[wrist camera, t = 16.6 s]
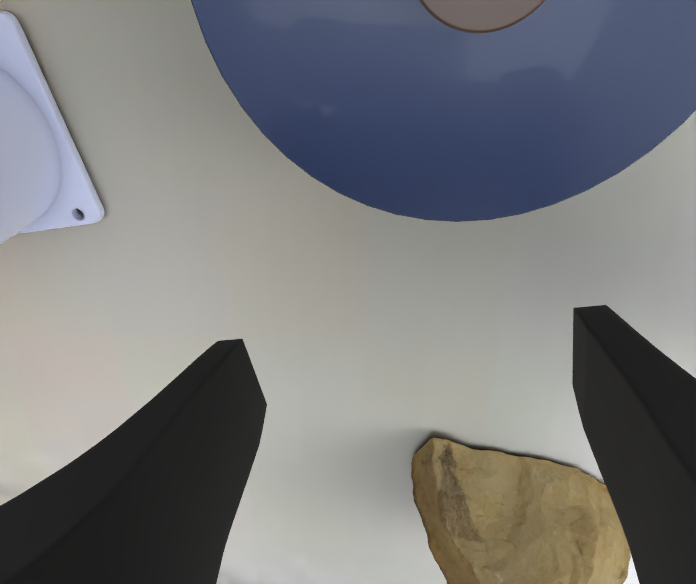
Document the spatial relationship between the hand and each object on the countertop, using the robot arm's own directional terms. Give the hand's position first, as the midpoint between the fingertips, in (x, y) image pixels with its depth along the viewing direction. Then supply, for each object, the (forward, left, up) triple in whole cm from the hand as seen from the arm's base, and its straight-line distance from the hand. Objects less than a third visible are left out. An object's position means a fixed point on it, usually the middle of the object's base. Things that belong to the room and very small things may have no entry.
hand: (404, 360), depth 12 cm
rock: (+3, -17, -11) cm, 20 cm away
